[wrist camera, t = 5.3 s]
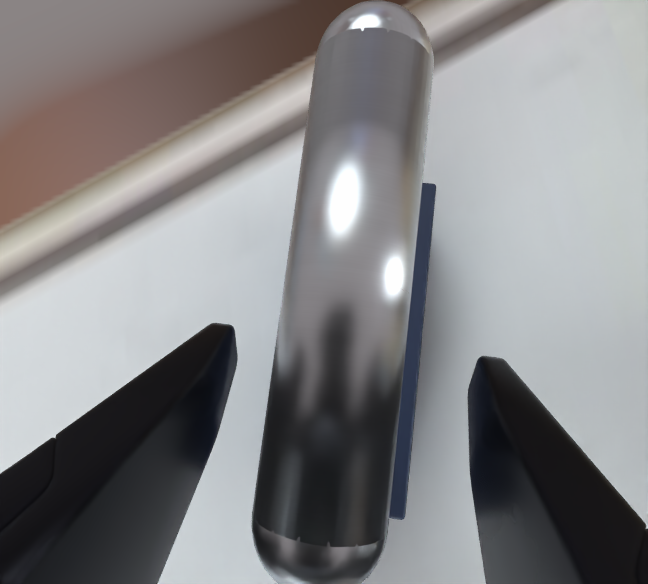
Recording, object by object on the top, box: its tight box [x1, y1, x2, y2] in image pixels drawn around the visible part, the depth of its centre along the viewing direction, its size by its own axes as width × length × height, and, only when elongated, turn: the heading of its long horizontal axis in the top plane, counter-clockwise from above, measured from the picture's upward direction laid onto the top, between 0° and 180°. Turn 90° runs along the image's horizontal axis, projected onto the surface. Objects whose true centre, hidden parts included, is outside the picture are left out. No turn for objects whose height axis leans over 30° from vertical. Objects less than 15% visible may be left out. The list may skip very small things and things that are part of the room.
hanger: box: [252, 0, 436, 584], centre depth 9 cm, size 9×4×12 cm, turn 173°
